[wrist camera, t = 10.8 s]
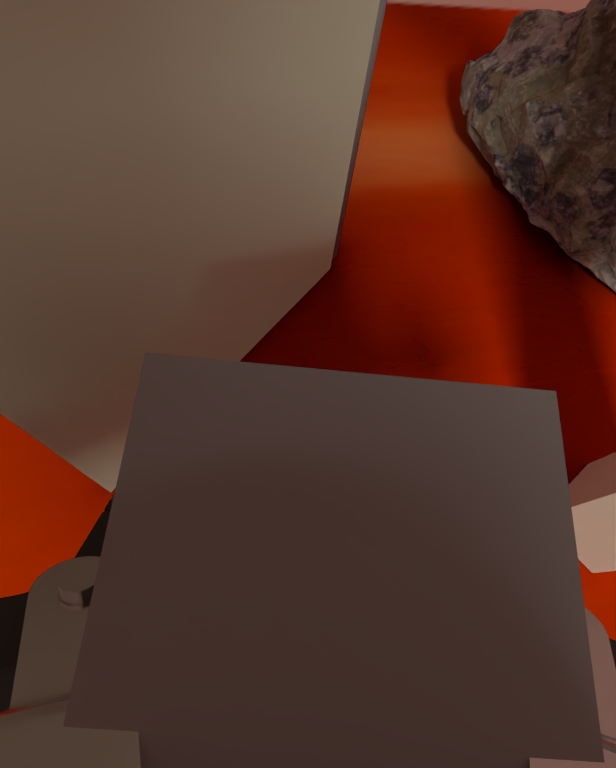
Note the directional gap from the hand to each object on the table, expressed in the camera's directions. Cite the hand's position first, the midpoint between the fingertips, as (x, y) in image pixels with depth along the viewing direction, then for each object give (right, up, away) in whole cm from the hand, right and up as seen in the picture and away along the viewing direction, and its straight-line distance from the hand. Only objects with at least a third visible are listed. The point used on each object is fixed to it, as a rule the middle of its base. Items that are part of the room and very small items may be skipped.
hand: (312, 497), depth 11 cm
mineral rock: (+13, +11, +13) cm, 21 cm away
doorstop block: (0, -3, +3) cm, 5 cm away
